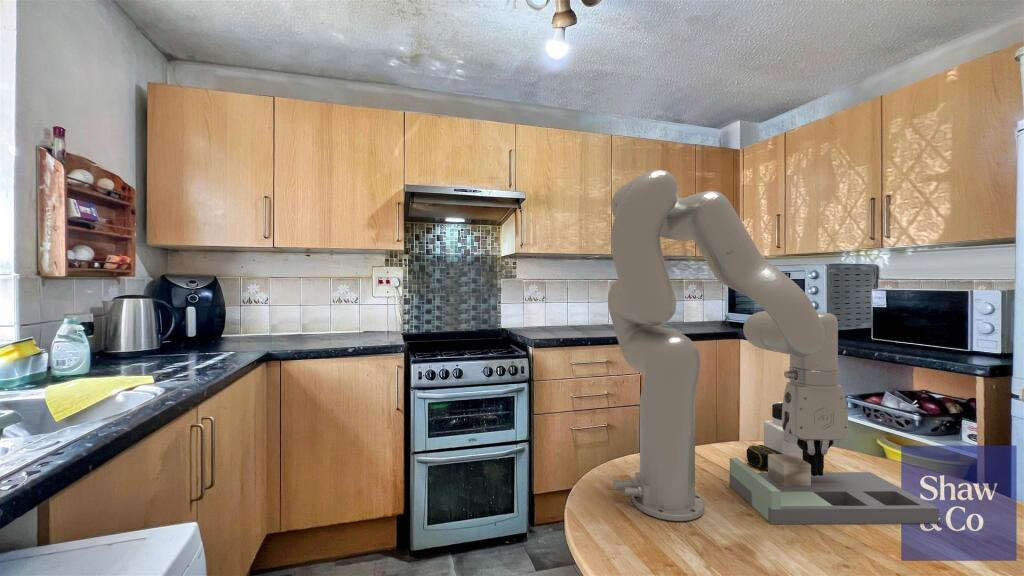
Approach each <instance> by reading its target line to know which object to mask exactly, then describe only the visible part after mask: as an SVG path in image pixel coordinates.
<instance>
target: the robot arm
mask: <svg viewBox="0 0 1024 576" xmlns="http://www.w3.org/2000/svg"><path fill="white" fill-rule="evenodd" d="M679 191H680V190H679V184H678V181H677V179H676V177H675V176H674V175H673V174H672V173H671V172H669V171H668V170H664V169H652V170H648V171H647V172H644V173H642V174H640V175H639V176H636V177H635V178H633V179H632V180H631V181H629V182H627V183H625V184H624V185H622V186H621V187H620V188H618V189H617V190H616V192H615V193H614V194H613V196H612V198H611V203H610V206H611V207H610V209H611V213H612V215H613V217H614V220H613V222H612V226H611V232H610V248H611V249H610V250H611V254H612V259H613V262H614V265H615V266H614V268H615V271H616V275H617V279H616V280H614V282H612V284H611V286H610V287H609V291H608V295H607V307H608V312H609V315H610V320H611V322H612V326H613V329H614V331H615V335H616V339H617V341H618V346H619V348H620V351H621V354H622V357H624V360H625V362H626V363H627V365H629V367H631V368H632V369H633V370H635V371H637V372H638V373H641V374H643V375H644V378H643V385H642V388H641V391H640V398H639V471H636V472H634V477H630V478H629V479H623V478H621V479H620V478H614V479H613V489H614V491H615V492H616V491H618V492H619V491H623V494H624V496H627V497H628V496H630V499H631V502H632V504H633V505H634V506H635V507H636V508H637V509H638V510H639V511H641V512H643V513H644V514H647V515H649V516H651V517H654V518H657V519H661V520H666V521H671V522H672V521H673V522H686V521H692V520H695V519H697V518H699V517H701V516H702V515H703V514H704V512H705V506H706V505H705V500H704V499H703V497H702V496H700V495H699V494H698V493H697V492H696V400H697V399H696V397H697V396H696V395H697V388H698V382H699V377H700V373H701V363H702V362H701V354H700V352H699V349H698V347H697V346H696V344H695V342H693V341H692V340H691V338H690V337H688V336H686V335H685V334H683V333H680V332H678V331H674V330H671V329H665V328H662V325H665V323H668V322H670V320H671V319H672V318H673V316H674V315H675V313H676V310H677V299H676V294H675V290H674V288H673V285H672V280H671V278H670V274H669V272H668V267H667V265H666V260H665V257H664V254H663V250H662V242H661V238H664V239H669V240H673V241H677V242H678V241H679V242H689V241H693V242H694V244H695V245H696V247H697V249H698V250H699V252H700V254H701V255H702V257H703V259H704V260H705V261H706V264H708V267H709V269H710V270H711V272H712V274H713V276H714V278H715V279H716V280H718V281H719V282H720V283H722V284H723V285H725V286H726V287H727V288H730V289H731V290H734V291H736V292H738V293H740V294H742V295H744V296H746V297H747V298H749V299H751V300H752V301H753V302H754V303H756V304H757V305H758V306H760V307H761V308H762V309H763V310H762V311H758V312H755V313H753V314H751V315H750V316H749V317H748V318H747V319H746V320H745V322H744V324H743V328H742V329H743V330H742V331H743V336H744V337H745V340H747V341H748V342H749V344H751V345H752V346H754V347H756V348H758V349H761V350H765V351H769V352H774V353H775V352H776V353H780V354H785V355H789V367H788V368H789V369H788V370H786V371H785V370H784V373H783V375H784V378H786V379H789V381H787V382H786V384H785V388H784V392H783V398H782V402H783V406H782V428H783V430H784V431H785V433H784V437H783V439H784V440H785V441H787V442H789V443H792V444H797V445H798V446H799V448H800V449H802V450H803V460H804V461H806V462H807V463H809V464H811V474H812V475H813V476H817V475H819V476H823V472H824V468H825V455H827V454H828V451H829V449H830V448H831V447H832V446H833V445H836V444H840V443H843V442H844V440H846V438H848V436H849V432H850V431H849V414H848V413H849V412H848V406H847V405H848V404H847V400H846V395H845V391H844V389H843V388H844V387H843V385H840V384H839V381H838V380H839V378H838V377H839V374H838V373H839V372H838V371H839V363H838V362H839V358H838V357H839V356H838V355H839V353H838V352H839V344H838V343H839V324H838V323H839V321H838V318H837V317H836V315H835V314H833V313H830V312H824V311H821V312H820V311H817V310H816V308H815V306H814V305H813V303H812V302H811V300H810V298H809V296H808V295H807V294H806V293H805V291H804V290H803V289H802V288H801V287H800V286H799V285H798V284H797V283H796V282H795V281H794V280H793V279H792V278H790V277H789V276H787V275H786V274H785V273H784V272H783V271H781V270H780V269H779V268H778V267H776V266H775V265H773V264H772V263H771V262H769V261H768V260H767V259H766V258H764V256H763V255H762V254H761V252H760V250H758V247H757V246H756V244H755V242H754V240H753V239H752V237H751V235H750V234H749V231H748V230H747V229H746V227H745V226H744V224H743V221H742V220H741V219H740V216H739V215H738V214H737V212H736V210H735V208H734V206H733V205H732V204H731V202H730V200H729V198H727V196H726V195H724V194H723V193H721V192H720V191H716V190H706V191H700V192H697V193H694V194H692V195H688V196H687V197H683V198H681V197H679Z"/></svg>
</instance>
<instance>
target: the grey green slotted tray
mask: <svg viewBox="0 0 1024 576" xmlns="http://www.w3.org/2000/svg"><path fill="white" fill-rule="evenodd" d="M729 486H730V487H731V488H732V489H733V491H735V492H736V493H737V494H738V495H739V496H741V497H742V499H744V501H746V502H747V503H748V504H749V505H750V506H751V507H752V508H753V509H754V510H755V511H757V512H758V514H760V515H761V516H762V517H763V518H764V519H765V520H766V521H768V522H769V523H770V524H771V525H850V524H851V525H854V524H855V525H857V524H858V525H859V524H860V525H862V524H865V525H871V524H872V525H873V524H877V525H880V524H882V525H883V524H884V525H885V524H888V525H889V524H894V525H895V524H938V523H937V522H939V520H940V515H939V514H940V508H939V507H937V506H935V505H933V504H931V503H929V502H928V501H926V500H925V499H922V498H920V497H918V496H916V495H914V494H913V493H910V492H909V491H907V490H905V489H903V488H901V487H899V486H897V485H895V484H894V483H891V482H890V481H887V480H886V479H884V478H883V477H880V476H879V475H877V474H875V473H872V472H871V471H851V472H849V471H847V472H846V471H845V472H843V471H842V472H841V471H840V472H839V471H837V472H835V471H833V472H832V471H831V472H830V471H826V472H825V471H823V476H819V475H817V476H813V475H812V474H811V486H783V485H781V484H780V483H779V482H777V481H776V480H775V479H773V478H772V477H771V476H769V475H768V472H756V471H755V470H754V469H752V468H751V467H749V466H748V465H747V464H746V463H745V462H743V461H742V460H740V458H738V457H729Z"/></svg>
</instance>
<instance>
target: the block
mask: <svg viewBox="0 0 1024 576" xmlns="http://www.w3.org/2000/svg"><path fill="white" fill-rule="evenodd" d="M767 473H768V475H769V476H771V477H772V478H773V479H775V480H776V481H777V482H779V483H780V484H781V485H783V486H811V464H809V463H807V462H806V461H804V460H802V459H801V458H799V457H797V456H796V455H794V454H768V469H767Z"/></svg>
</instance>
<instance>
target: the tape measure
mask: <svg viewBox="0 0 1024 576" xmlns="http://www.w3.org/2000/svg"><path fill="white" fill-rule="evenodd" d="M768 454H782V453H780V452H778V451H776V450H774V449H771V448H768V447H766V446H764V444H758V445H749V446H748V448H747V449H746V459H747V462H748V463H749V464H751V465H752V466H755V467H756V468H757V467H758V468H760V469H762V470H768Z"/></svg>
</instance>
